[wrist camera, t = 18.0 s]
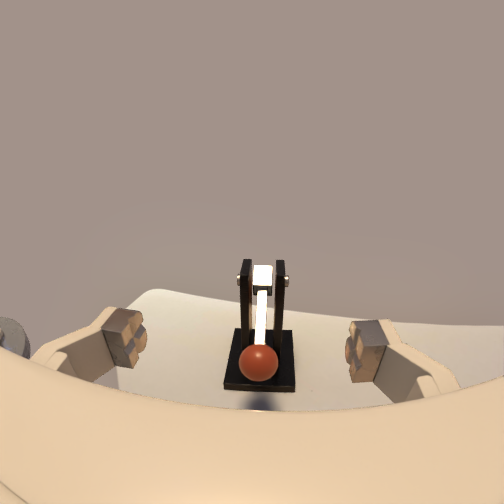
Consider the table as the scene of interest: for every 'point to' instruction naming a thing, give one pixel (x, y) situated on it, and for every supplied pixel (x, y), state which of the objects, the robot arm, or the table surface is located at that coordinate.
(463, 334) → the table surface
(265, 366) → the faucet lever
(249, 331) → the bracket
